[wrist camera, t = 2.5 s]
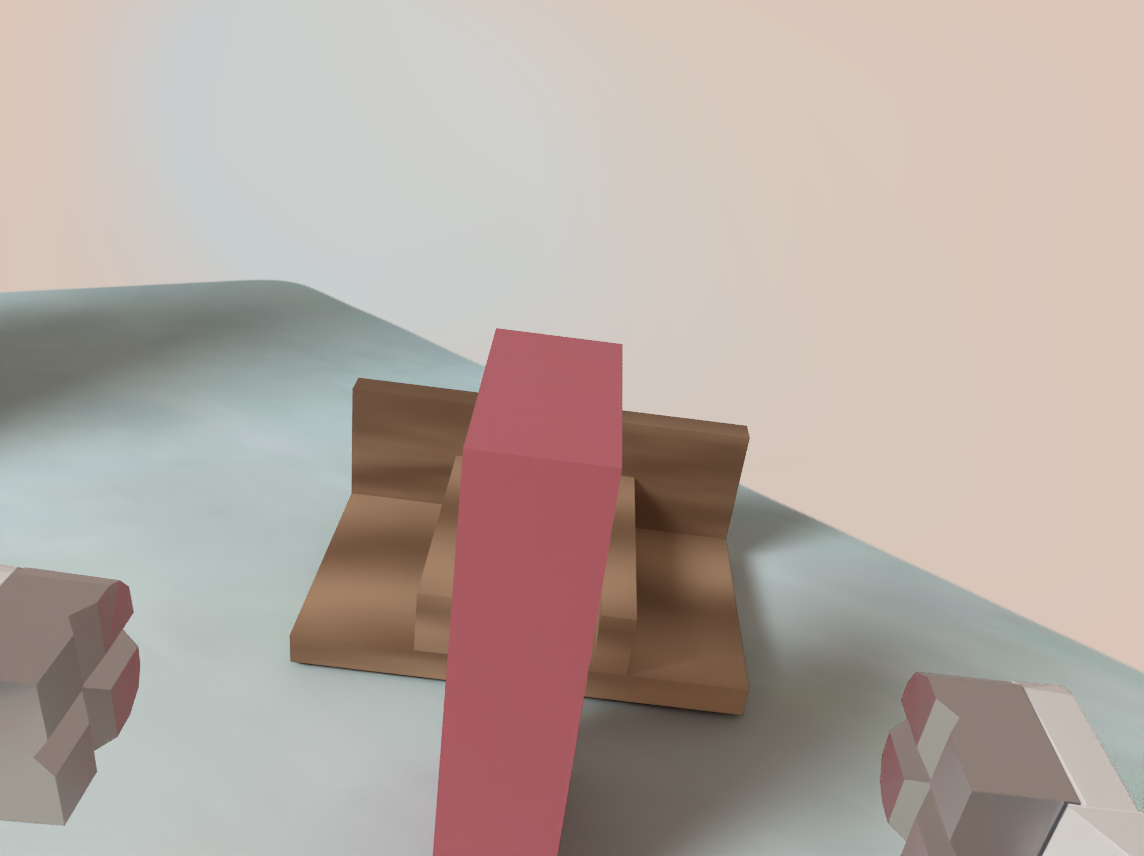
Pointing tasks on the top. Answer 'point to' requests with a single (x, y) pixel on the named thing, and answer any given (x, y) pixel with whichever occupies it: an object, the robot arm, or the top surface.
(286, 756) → the top surface
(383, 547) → the book rack
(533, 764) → the red rectangular block
